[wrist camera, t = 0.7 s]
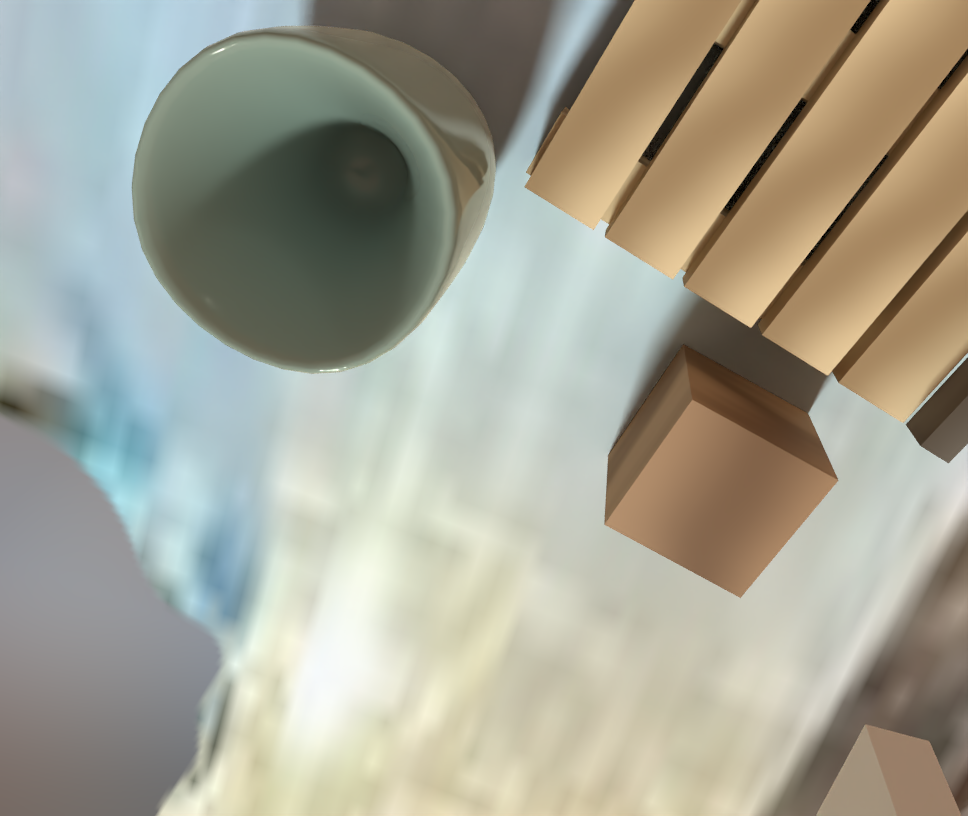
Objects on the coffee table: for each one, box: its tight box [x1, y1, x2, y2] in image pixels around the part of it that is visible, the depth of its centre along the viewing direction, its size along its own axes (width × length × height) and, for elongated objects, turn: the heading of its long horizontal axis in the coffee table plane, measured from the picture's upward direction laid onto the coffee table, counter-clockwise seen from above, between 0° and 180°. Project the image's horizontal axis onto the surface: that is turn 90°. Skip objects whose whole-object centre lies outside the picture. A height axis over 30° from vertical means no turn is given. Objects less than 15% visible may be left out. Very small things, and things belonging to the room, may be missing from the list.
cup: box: [132, 26, 496, 374], centre depth 24 cm, size 8×8×10 cm
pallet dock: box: [525, 0, 968, 463], centre depth 24 cm, size 15×14×4 cm
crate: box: [605, 344, 838, 598], centre depth 29 cm, size 5×5×5 cm
